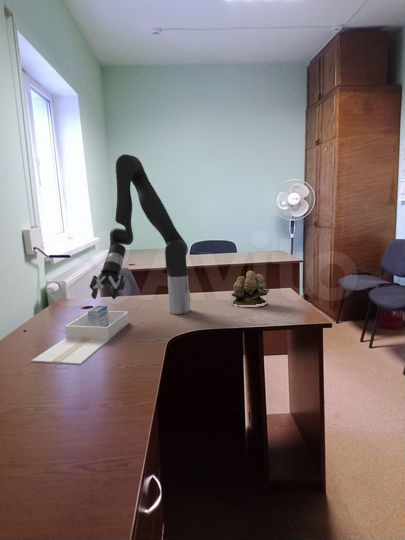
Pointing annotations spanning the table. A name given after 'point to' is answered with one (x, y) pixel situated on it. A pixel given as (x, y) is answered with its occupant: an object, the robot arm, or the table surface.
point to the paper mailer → (83, 339)
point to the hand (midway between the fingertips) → (103, 298)
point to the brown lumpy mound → (249, 289)
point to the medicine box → (98, 317)
